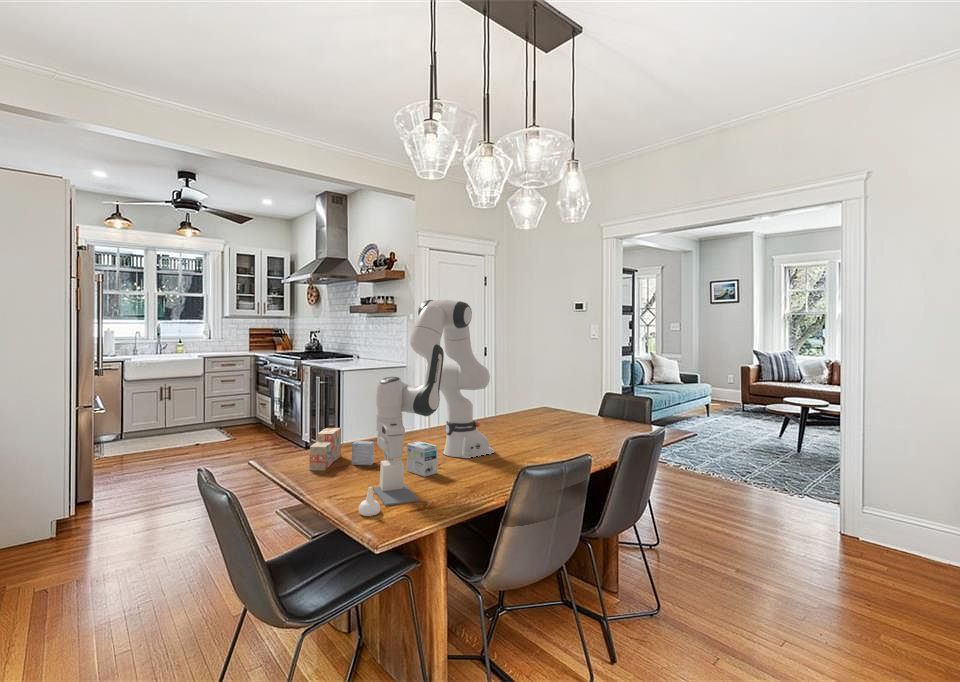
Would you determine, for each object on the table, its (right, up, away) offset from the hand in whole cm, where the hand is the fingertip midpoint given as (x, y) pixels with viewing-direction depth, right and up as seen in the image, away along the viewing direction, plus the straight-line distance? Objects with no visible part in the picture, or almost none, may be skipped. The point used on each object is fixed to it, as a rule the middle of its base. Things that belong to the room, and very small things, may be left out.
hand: (388, 465), depth 168 cm
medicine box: (-16, -7, +29) cm, 34 cm away
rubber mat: (+3, -8, -7) cm, 11 cm away
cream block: (+1, -7, -2) cm, 7 cm away
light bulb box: (+9, -8, +19) cm, 22 cm away
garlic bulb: (-2, -9, -22) cm, 24 cm away
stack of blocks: (-31, -7, +30) cm, 43 cm away
